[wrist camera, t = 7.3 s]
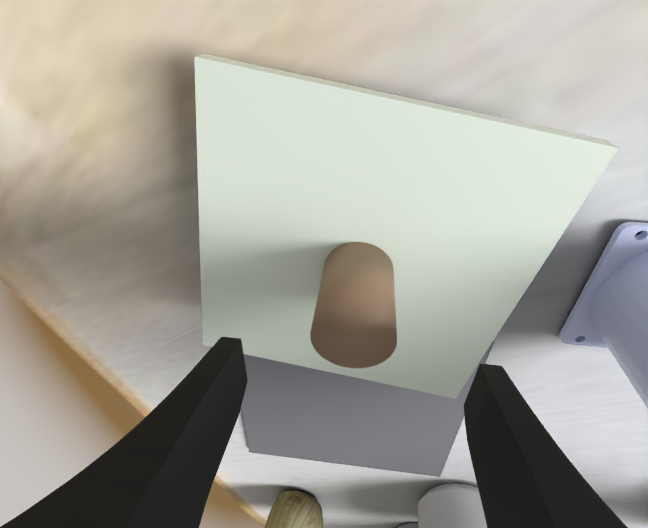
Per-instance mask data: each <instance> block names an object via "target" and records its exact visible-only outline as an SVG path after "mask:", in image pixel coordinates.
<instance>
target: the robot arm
mask: <svg viewBox="0 0 648 528" xmlns="http://www.w3.org/2000/svg"><path fill="white" fill-rule="evenodd" d="M640 231H643V232H642V233H641V234H639V235H637V236H635V235H636V234H637V233H638V232H640ZM559 336H560V338H561V340H562V342H564V343H567V344H576V345H587V346H597V347H607V348H609V350H610V351H611V353H612V354H613V356H614V357H615V359H616V360H617V362H618V363H619V365H620V367H621V368H622V370H623V371H624V373H625V374H626V376H627V377H628V379H629V380H630V382H631V383H632V385H633V387H634V388H635V390H636V391H637V393H638V394H639V396H640V397H641V399H642V400H643V402H644V404H645V405H646V407H647V408H648V223H642V222H625V223H623V224H621V225H619V226H618V227H617V228H616V229H615V231H614V233H613V235H612V237H611V238H610V240H609V242H608V244H607V246H606V248H605V250H604V251H603V253H602V255H601V257H600V259H599V261H598V263H597V265H596V266H595V268H594V270H593V272H592V274H591V276H590V278H589V279H588V281H587V283H586V285H585V287H584V289H583V291H582V293H581V294H580V296H579V298H578V300H577V302H576V304H575V306H574V307H573V309H572V311H571V313H570V315H569V317H568V319H567V321H566V322H565V324H564V326H563V328H562V330H561V332H560V334H559ZM578 336H580V337H578ZM247 382H248V379H247V373H246V366H245V360H244V354H243V348H242V341H241V339H240V338H230V337H221V338H220V339H219V340H218V341H217V342H216V343H215V344H214V346H213V347H212V348H211V349H210V350H209V351H208V353H207V354H206V355H205V356H204V357H203V358H202V359H201V361H200V362H199V363H198V364H197V365H196V366H195V367H194V368H193V370H192V371H191V372H190V373H189V374H188V375H187V376H186V377H185V378H184V379H183V380H182V381H181V382H180V383H179V385H178V386H177V387H176V388H175V389H174V390H173V391H172V392H171V393H170V394H169V395H168V396H167V397H166V398H165V399H164V400H163V401H162V402H161V403H160V404H159V405H158V406H157V407H156V408H155V409H154V410H153V411H152V412H151V413H150V414H149V415H148V416H146V417H145V418H144V419H143V420H142V421H141V422H140V423H139V424H138V425H137V426H136V427H135V428H134V429H132V430H131V431H130V432H129V433H128V434H127V435H125V436H124V437H123V438H122V439H121V440H120V441H119V442H117V443H116V444H115V445H114V446H113V447H111V448H110V449H109V450H108V451H106V452H105V453H104V454H103V455H101V456H100V457H99V458H98V459H96V460H95V461H94V462H93V463H91V464H90V465H89V466H88V467H86V468H85V469H84V470H83V471H81V472H80V473H78V474H77V475H76V476H74V477H73V478H72V479H70V480H69V481H68V482H66V483H65V484H64V485H62V486H60V487H59V488H58V489H56V490H55V491H54V492H52V493H51V494H49V495H48V496H46V497H45V498H43V499H42V500H40V501H39V502H38V503H36V504H35V505H33V506H32V507H31V508H29V509H28V510H26V511H25V512H23V513H22V514H20V515H19V516H17V517H16V518H14V519H12V520H11V521H9V522H8V523H6V524H4V525H3V526H1V527H0V528H199V525H200V521H201V518H202V514H203V511H204V507H205V504H206V501H207V498H208V494H209V492H210V488H211V486H212V483H213V480H214V478H215V475H216V473H217V470H218V468H219V465H220V462H221V460H222V457H223V455H224V452H225V449H226V447H227V444H228V442H229V439H230V436H231V434H232V431H233V429H234V426H235V423H236V421H237V418H238V415H239V413H240V409H241V405H242V401H243V398H244V394H245V390H246V386H247ZM464 415H465V425H466V433H467V441H468V446H469V450H470V455H471V459H472V463H473V468H474V472H475V477H476V481H477V485H478V489H479V494H480V498H481V502H482V507H483V511H484V515H485V520H486V524H487V528H627V527H626V525H625V524H624V523H623V522H622V521H621V520H620V519H619V518H618V517H617V516H616V515H615V514H614V512H613V511H612V510H611V509H610V508H609V507H608V506H607V505H606V504H605V502H604V501H603V500H602V499H601V498H600V497H599V496H598V494H597V493H596V492H595V491H594V490H593V489H592V487H591V486H590V485H589V484H588V483H587V481H586V480H585V479H584V478H583V477H582V475H581V474H580V473H579V472H578V471H577V469H576V468H575V467H574V466H573V464H572V463H571V462H570V461H569V459H568V458H567V457H566V456H565V454H564V453H563V452H562V450H561V449H560V448H559V447H558V445H557V444H556V443H555V441H554V440H553V438H552V437H551V436H550V434H549V433H548V432H547V430H546V429H545V428H544V426H543V425H542V424H541V422H540V421H539V420H538V418H537V417H536V415H535V414H534V413H533V411H532V410H531V408H530V407H529V405H528V404H527V402H526V401H525V400H524V398H523V397H522V395H521V394H520V392H519V391H518V389H517V388H516V386H515V385H514V383H513V382H512V380H511V379H510V377H509V376H508V374H507V373H506V371H505V370H504V369H503V367H502V366H497V365H488V364H479V367H478V369H477V372H476V375H475V377H474V380H473V382H472V385H471V387H470V390H469V393H468V395H467V398H466V400H465V403H464Z"/></svg>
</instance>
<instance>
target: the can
mask: <svg viewBox="0 0 648 528" xmlns="http://www.w3.org/2000/svg"><path fill="white" fill-rule="evenodd" d="M417 512H418V526H419V528H487V524H486V520H485V515H484V511H483V507H482V502H481V498H480V494H479V489H478V487H475V486H471V485H467V484H456V483H455V484H444V485H440V486H436V487H434V488H432V489H430V490H429V491H428V492H427V493H426V494H425V496H423V497H422V498H421V500H420V501H419V502H418V506H417Z"/></svg>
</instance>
